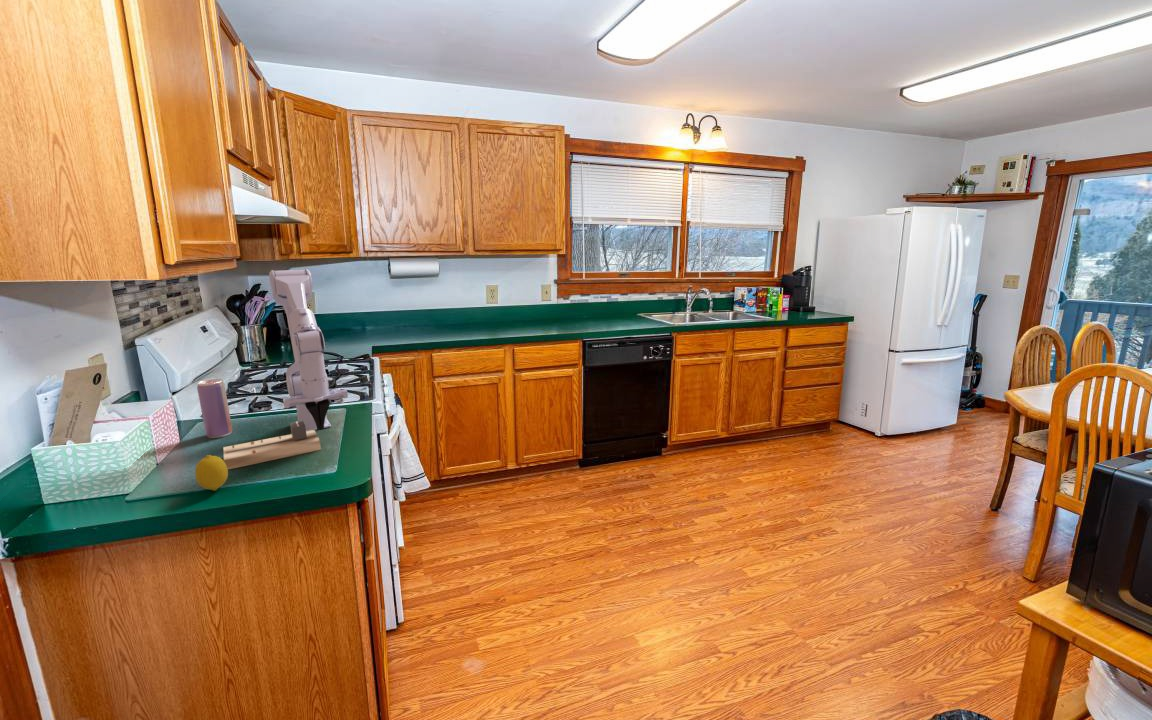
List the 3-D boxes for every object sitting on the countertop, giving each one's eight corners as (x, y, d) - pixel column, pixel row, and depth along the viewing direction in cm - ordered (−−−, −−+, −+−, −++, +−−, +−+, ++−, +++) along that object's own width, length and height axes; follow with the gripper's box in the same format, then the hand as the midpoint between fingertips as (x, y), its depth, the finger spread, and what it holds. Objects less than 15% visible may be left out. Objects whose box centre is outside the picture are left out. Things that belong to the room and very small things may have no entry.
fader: (291, 435, 131) (289, 422, 130) (304, 433, 132) (302, 420, 131) (293, 440, 127) (291, 427, 127) (306, 437, 129) (305, 424, 128)
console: (225, 456, 125) (223, 446, 125) (315, 438, 136) (314, 429, 136) (225, 470, 118) (223, 459, 118) (320, 449, 129) (319, 439, 128)
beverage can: (219, 439, 136) (209, 385, 133) (200, 438, 137) (190, 384, 134) (238, 431, 142) (229, 379, 138) (220, 429, 143) (210, 378, 140)
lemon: (221, 482, 112) (215, 448, 110) (236, 487, 110) (229, 452, 108) (193, 493, 107) (186, 457, 106) (208, 499, 105) (201, 462, 103)
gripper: (282, 386, 122) (290, 440, 125) (347, 376, 130) (353, 427, 133) (279, 380, 128) (287, 431, 131) (342, 371, 136) (347, 419, 139)
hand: (320, 428), depth 132 cm, fingers closed
